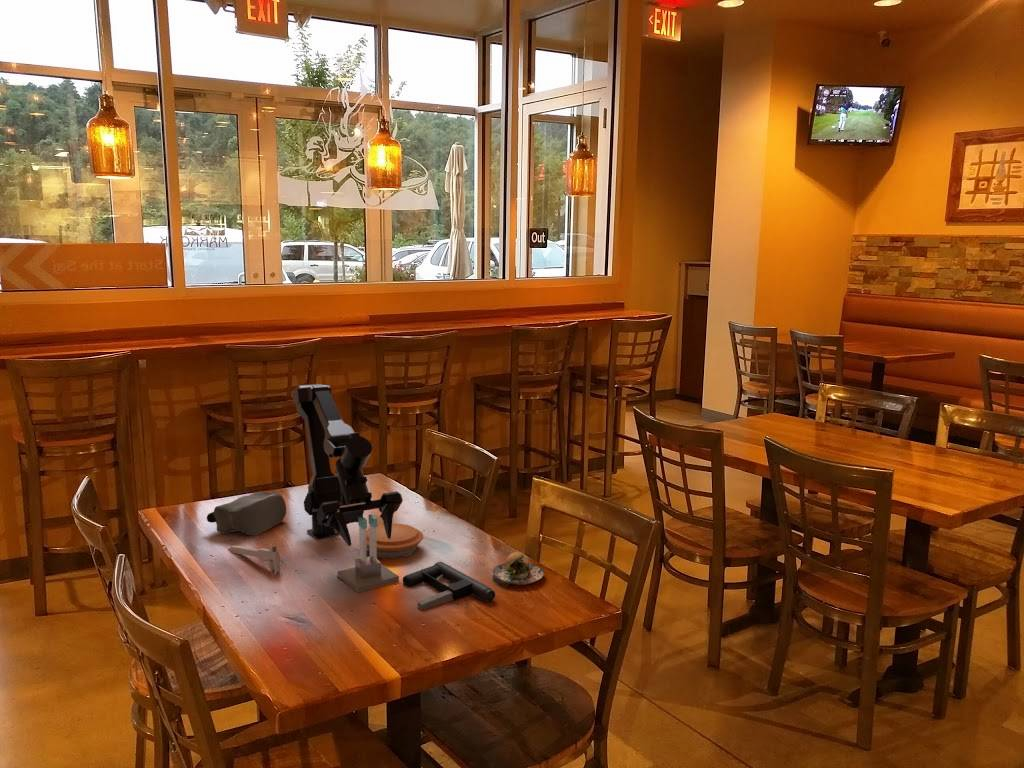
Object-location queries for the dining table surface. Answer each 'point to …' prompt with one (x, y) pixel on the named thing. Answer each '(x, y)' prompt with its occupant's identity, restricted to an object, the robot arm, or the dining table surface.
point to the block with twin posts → (365, 565)
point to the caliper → (261, 555)
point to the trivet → (367, 579)
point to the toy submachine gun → (455, 591)
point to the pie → (395, 541)
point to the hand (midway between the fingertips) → (370, 541)
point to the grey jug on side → (250, 513)
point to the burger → (516, 571)
